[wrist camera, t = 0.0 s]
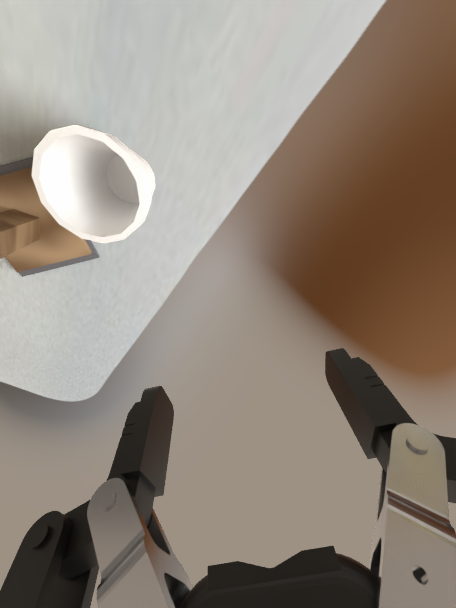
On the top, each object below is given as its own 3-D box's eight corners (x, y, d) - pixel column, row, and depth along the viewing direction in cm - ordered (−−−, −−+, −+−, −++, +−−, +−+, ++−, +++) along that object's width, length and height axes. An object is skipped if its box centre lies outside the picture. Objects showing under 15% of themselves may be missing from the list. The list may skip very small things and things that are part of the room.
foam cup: (133, 228, 35) (100, 260, 24) (79, 171, 31) (8, 179, 20) (181, 186, 33) (167, 201, 22) (128, 118, 28) (79, 94, 18)
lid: (-43, 188, 31) (-149, 201, 22) (42, 164, 30) (-30, 168, 21) (20, 270, 37) (-41, 307, 28) (92, 252, 36) (53, 284, 27)
